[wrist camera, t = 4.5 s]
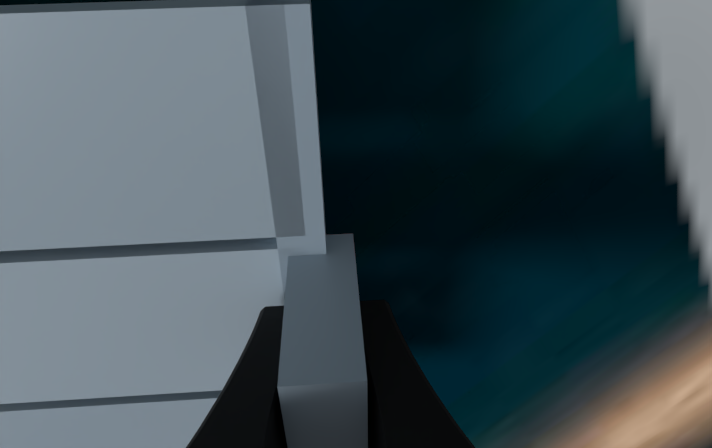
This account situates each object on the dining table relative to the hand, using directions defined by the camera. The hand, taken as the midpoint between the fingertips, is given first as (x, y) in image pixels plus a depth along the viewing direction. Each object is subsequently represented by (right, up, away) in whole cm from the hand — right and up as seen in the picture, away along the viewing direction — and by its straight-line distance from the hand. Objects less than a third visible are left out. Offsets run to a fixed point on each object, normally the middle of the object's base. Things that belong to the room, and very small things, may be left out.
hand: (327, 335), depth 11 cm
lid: (-5, 0, +1) cm, 5 cm away
